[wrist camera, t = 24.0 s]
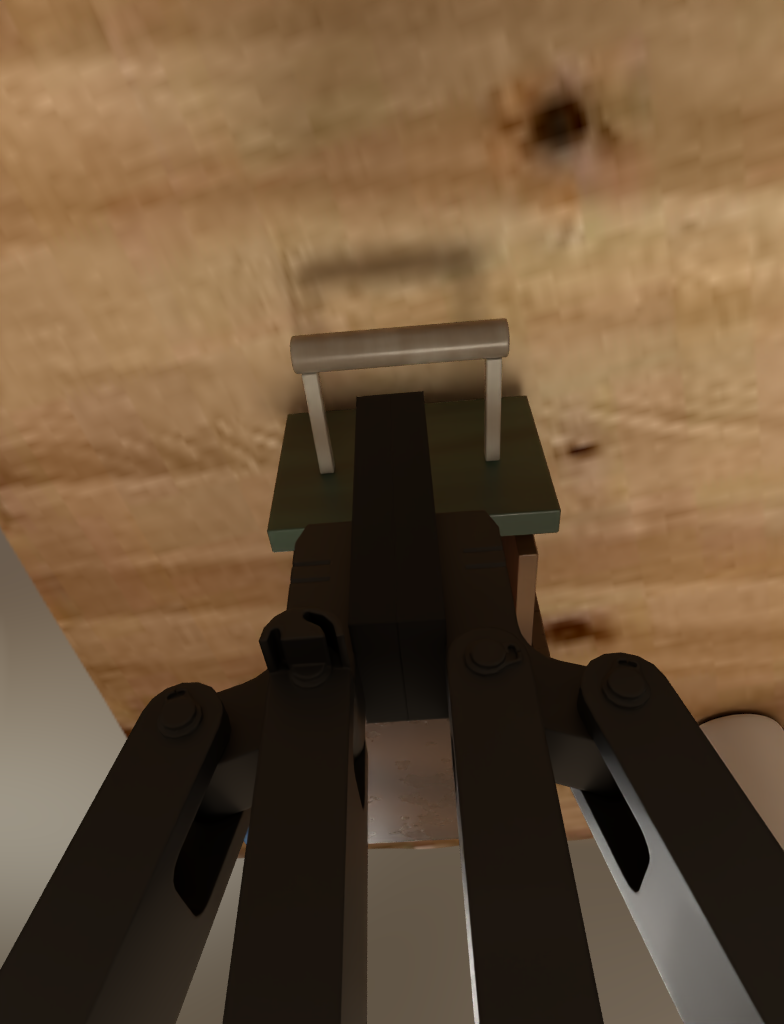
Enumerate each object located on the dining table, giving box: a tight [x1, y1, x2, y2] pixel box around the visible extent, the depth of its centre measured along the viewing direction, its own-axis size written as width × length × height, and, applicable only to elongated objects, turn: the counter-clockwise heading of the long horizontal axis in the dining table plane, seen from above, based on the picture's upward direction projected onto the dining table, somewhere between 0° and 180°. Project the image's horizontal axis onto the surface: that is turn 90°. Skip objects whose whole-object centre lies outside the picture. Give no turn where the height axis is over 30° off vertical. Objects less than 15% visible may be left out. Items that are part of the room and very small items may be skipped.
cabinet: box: [365, 592, 550, 843], centre depth 42 cm, size 15×13×10 cm
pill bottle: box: [699, 714, 784, 850], centre depth 49 cm, size 8×8×15 cm
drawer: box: [267, 318, 561, 645], centre depth 33 cm, size 20×11×8 cm, turn 5°
